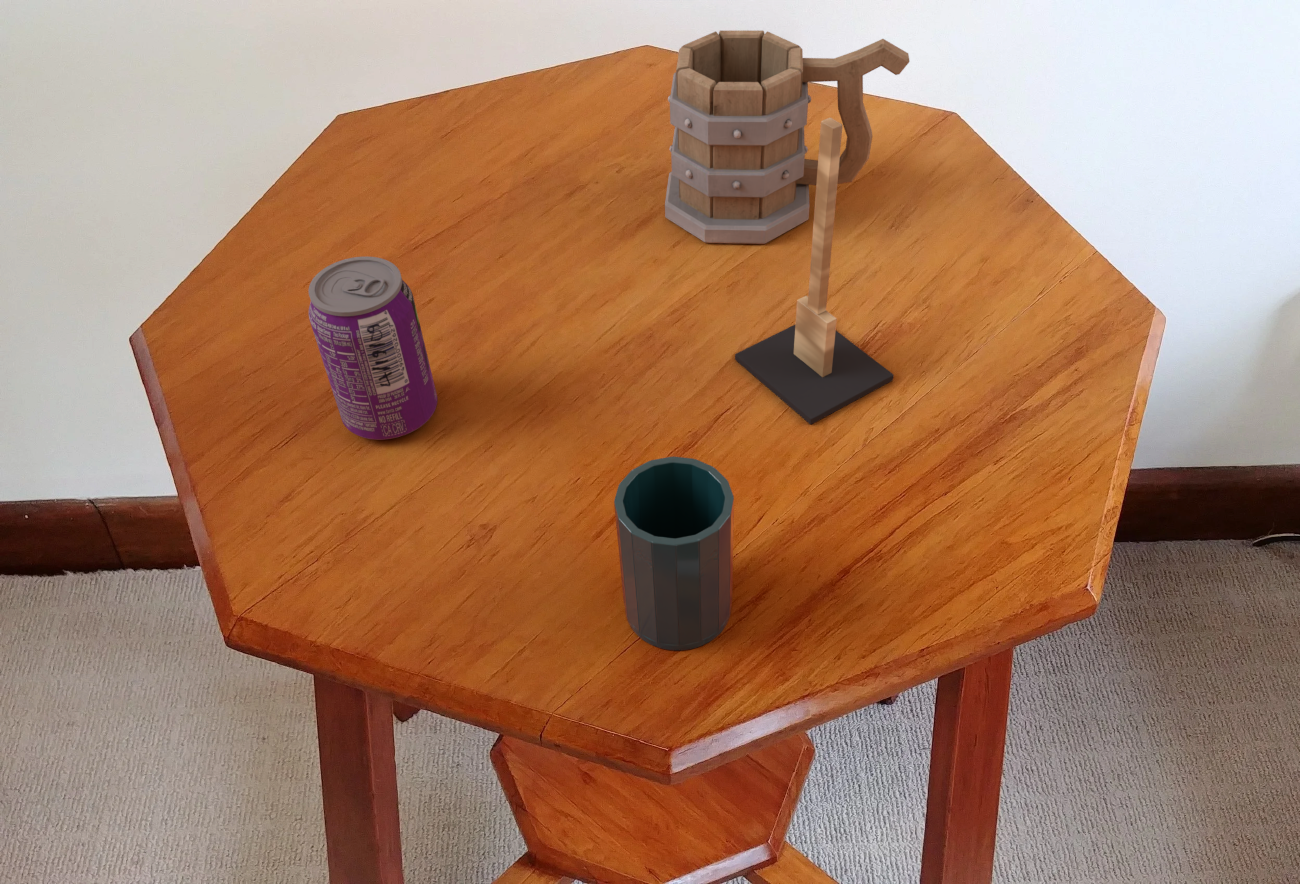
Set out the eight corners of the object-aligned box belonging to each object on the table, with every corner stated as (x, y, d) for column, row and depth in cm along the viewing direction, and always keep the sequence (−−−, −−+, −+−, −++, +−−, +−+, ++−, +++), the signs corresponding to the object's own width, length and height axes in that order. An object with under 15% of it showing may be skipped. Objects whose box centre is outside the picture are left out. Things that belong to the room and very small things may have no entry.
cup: (752, 616, 69) (757, 508, 62) (664, 669, 67) (658, 563, 60) (690, 549, 73) (687, 440, 66) (605, 597, 71) (592, 489, 63)
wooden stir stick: (831, 372, 84) (855, 131, 70) (822, 377, 83) (844, 135, 69) (802, 349, 86) (819, 109, 72) (793, 354, 85) (808, 114, 71)
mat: (893, 380, 84) (894, 374, 83) (810, 425, 81) (811, 419, 80) (814, 320, 89) (815, 314, 89) (734, 359, 86) (734, 353, 86)
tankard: (662, 244, 97) (656, 82, 87) (672, 166, 106) (667, 11, 95) (896, 247, 95) (918, 83, 85) (886, 168, 104) (905, 10, 94)
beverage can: (453, 388, 85) (424, 258, 77) (417, 453, 80) (382, 323, 72) (367, 375, 87) (329, 246, 78) (326, 439, 82) (282, 309, 73)
